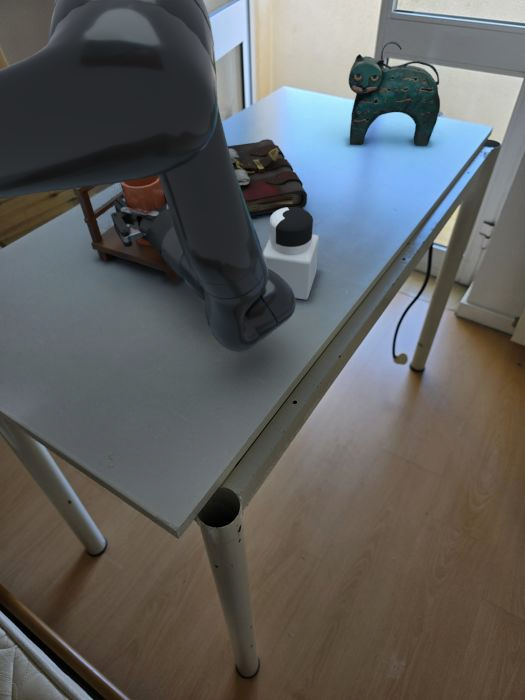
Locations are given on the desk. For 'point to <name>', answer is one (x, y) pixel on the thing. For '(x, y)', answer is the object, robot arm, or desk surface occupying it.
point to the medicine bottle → (293, 249)
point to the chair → (112, 243)
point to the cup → (144, 196)
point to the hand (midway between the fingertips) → (139, 196)
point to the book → (266, 178)
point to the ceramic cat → (393, 96)
